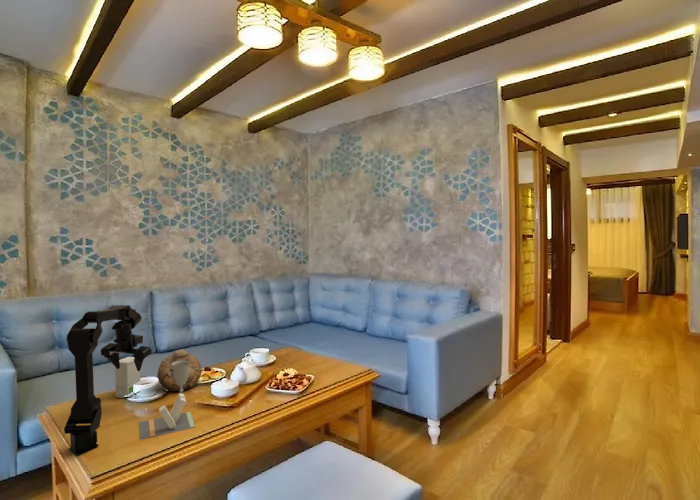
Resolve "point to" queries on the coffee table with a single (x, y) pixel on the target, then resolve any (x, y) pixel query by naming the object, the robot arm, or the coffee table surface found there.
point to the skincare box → (126, 377)
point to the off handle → (167, 416)
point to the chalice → (181, 373)
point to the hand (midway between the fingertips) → (128, 369)
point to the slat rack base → (160, 425)
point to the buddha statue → (167, 371)
